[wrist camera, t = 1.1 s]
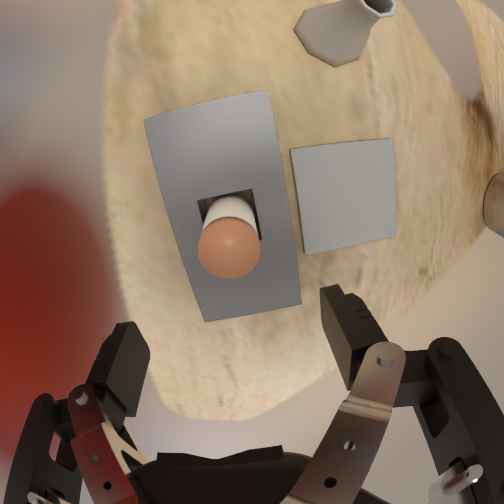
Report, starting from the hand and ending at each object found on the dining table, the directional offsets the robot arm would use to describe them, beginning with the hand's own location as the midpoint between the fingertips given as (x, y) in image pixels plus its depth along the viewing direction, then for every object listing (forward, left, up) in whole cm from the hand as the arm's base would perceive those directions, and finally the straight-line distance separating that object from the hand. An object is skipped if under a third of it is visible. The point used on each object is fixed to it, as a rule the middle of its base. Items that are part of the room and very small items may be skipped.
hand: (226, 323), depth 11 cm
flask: (-13, -16, -17) cm, 27 cm away
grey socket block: (0, 0, -17) cm, 17 cm away
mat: (-12, +1, -17) cm, 21 cm away
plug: (0, 0, -17) cm, 17 cm away
